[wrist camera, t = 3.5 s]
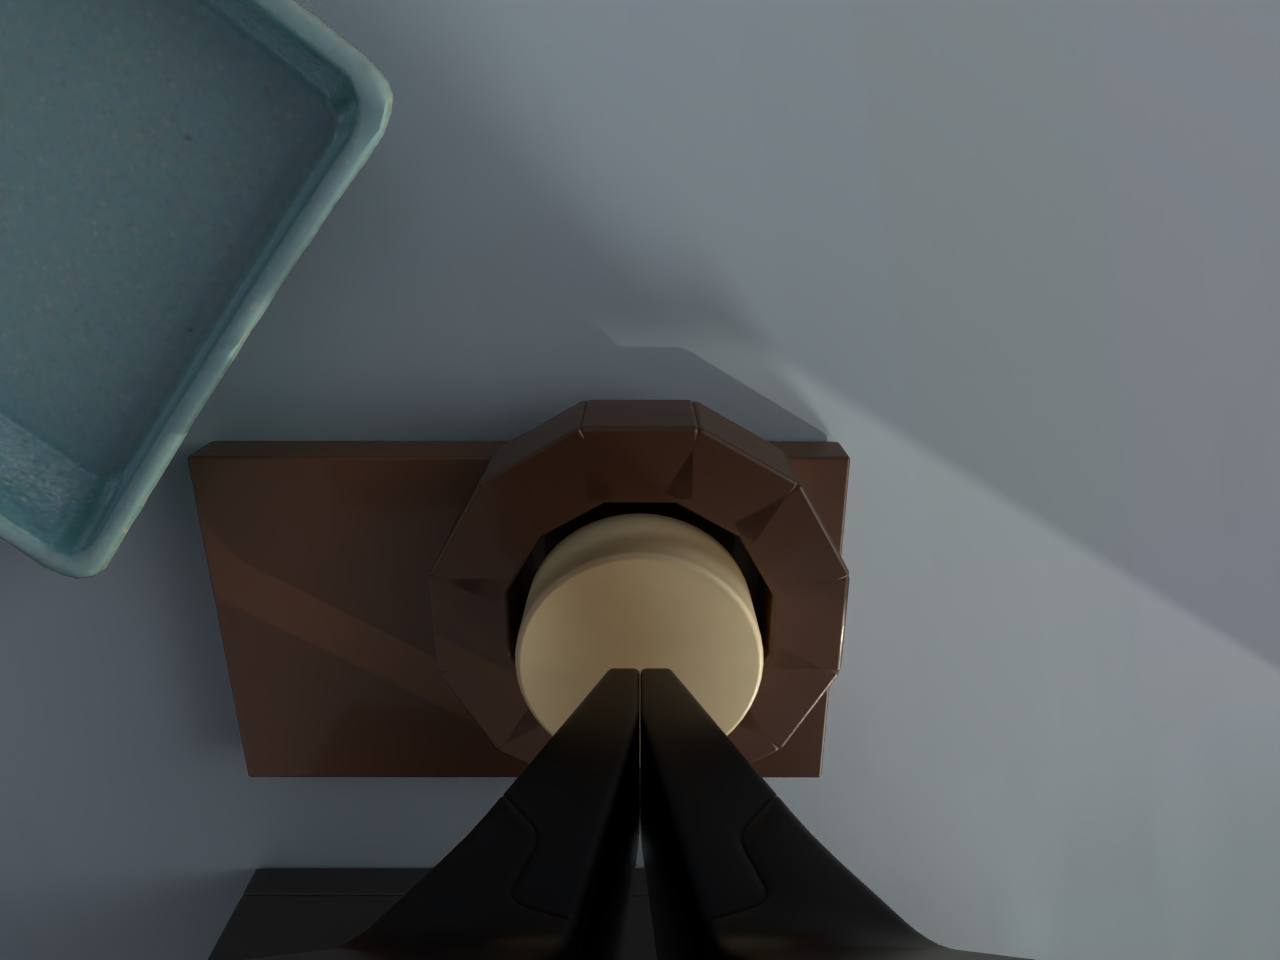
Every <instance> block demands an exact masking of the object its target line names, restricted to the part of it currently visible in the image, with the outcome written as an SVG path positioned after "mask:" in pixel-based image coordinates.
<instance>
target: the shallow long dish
mask: <svg viewBox="0 0 1280 960" xmlns="http://www.w3.org/2000/svg"><path fill="white" fill-rule="evenodd" d="M392 104H393V93H392V91H391V88H390V85H389V82H388V80H387V78H386V77H385V76H384V75H383V74H382V73H381V72H380V71H379V69H378V68H377V67H376V66H375V65H374V64H373V63H372V62H371V61H370V60H369V59H368V58H366V57H365V56H364V55H363V54H361V53H360V52H359V51H358V50H356V49H355V48H354V47H353V46H351V45H350V44H349V43H348V42H346V41H345V40H344V39H343V38H341V37H340V36H339V35H338V34H336V33H335V32H334V31H333V30H332V29H330V28H329V27H328V26H327V25H325V24H324V23H323V22H322V21H321V20H319V19H318V18H317V17H315V16H314V15H313V14H311V13H310V12H308V11H307V10H306V9H304V8H303V7H302V6H301V5H299V4H298V3H297V2H296V1H294V0H0V537H1V538H2V539H4V540H5V541H7V542H8V543H10V544H11V545H13V546H14V547H16V548H17V549H19V550H20V551H22V552H23V553H24V554H26V555H27V556H29V557H30V558H32V559H33V560H34V561H36V562H37V563H39V564H40V565H42V566H43V567H45V568H48V569H50V570H52V571H55V572H57V573H60V574H62V575H65V576H69V577H73V578H85V577H92V576H95V575H97V574H98V573H100V572H101V571H102V570H104V569H105V568H107V566H108V564H109V563H110V561H111V559H112V557H113V556H114V554H115V552H116V550H117V549H118V547H119V545H120V544H121V542H122V540H123V539H124V537H125V535H126V534H127V532H128V530H129V528H130V527H131V525H132V523H133V522H134V520H135V519H136V517H137V516H138V514H139V513H140V512H141V510H142V508H143V506H144V504H145V503H146V501H147V499H148V497H149V495H150V493H151V492H152V490H153V489H154V487H155V486H156V484H157V483H158V481H159V479H160V478H161V476H162V475H163V473H164V471H165V470H166V468H167V466H168V465H169V463H170V461H171V460H172V458H173V456H174V455H175V453H176V451H177V450H178V448H179V446H180V445H181V443H182V441H183V440H184V438H185V436H186V435H187V433H188V431H189V430H190V428H191V426H192V425H193V423H194V421H195V420H196V418H197V416H198V415H199V413H200V411H201V410H202V408H203V407H204V405H205V404H206V402H207V401H208V399H209V398H210V396H211V395H212V393H213V392H214V390H215V389H216V387H217V386H218V384H219V382H220V381H221V379H222V378H223V376H224V375H225V373H226V371H227V370H228V368H229V367H230V365H231V364H232V362H233V360H234V359H235V357H236V356H237V354H238V352H239V351H240V349H241V347H242V346H243V344H244V342H245V341H246V339H247V337H248V336H249V334H250V332H251V330H252V329H253V328H254V326H255V325H256V324H257V323H258V321H259V320H260V318H261V317H262V315H263V314H264V312H265V311H266V309H267V307H268V306H269V304H270V303H271V301H272V300H273V298H274V296H275V295H276V293H277V292H278V290H279V289H280V287H281V286H282V284H283V282H284V281H285V279H286V278H287V276H288V275H289V273H290V272H291V270H292V269H293V267H294V266H295V264H296V263H297V261H298V259H299V258H300V256H301V255H302V253H303V252H304V251H305V249H306V248H307V247H308V245H309V244H310V242H311V241H312V240H313V238H314V237H315V235H316V234H317V232H318V231H319V229H320V228H321V226H322V224H323V223H324V221H325V220H326V218H327V217H328V215H329V214H330V212H331V211H332V209H333V208H334V206H335V204H336V203H337V202H338V200H339V199H340V198H341V196H342V195H343V194H344V192H345V191H346V189H347V188H348V187H349V185H350V184H351V183H352V181H353V180H354V178H355V177H356V175H357V174H358V173H359V171H360V170H361V168H362V167H363V165H364V164H365V163H366V161H367V160H368V158H369V157H370V155H371V154H372V152H373V151H374V149H375V148H376V146H377V145H378V143H379V142H380V140H381V138H382V137H383V135H384V133H385V130H386V127H387V124H388V121H389V118H390V115H391V112H392Z"/></svg>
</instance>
